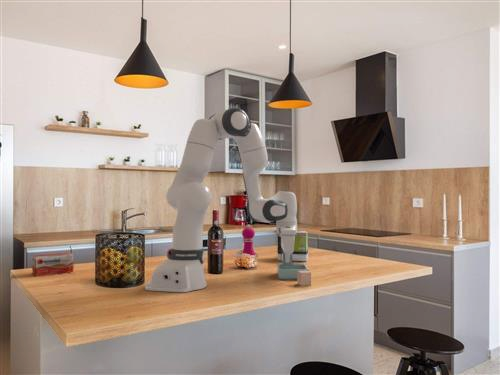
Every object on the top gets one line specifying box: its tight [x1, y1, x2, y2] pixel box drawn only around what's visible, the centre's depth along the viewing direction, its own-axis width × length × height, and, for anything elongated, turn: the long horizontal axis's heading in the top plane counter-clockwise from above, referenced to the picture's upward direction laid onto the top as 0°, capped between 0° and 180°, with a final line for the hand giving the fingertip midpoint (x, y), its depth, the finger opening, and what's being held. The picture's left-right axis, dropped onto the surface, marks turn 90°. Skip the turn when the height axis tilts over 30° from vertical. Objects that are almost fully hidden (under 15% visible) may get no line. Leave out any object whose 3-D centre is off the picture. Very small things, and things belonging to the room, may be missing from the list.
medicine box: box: [31, 252, 75, 277], centre depth 176 cm, size 15×8×8 cm, turn 125°
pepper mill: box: [241, 224, 256, 255], centre depth 192 cm, size 7×7×20 cm
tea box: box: [276, 230, 309, 262], centre depth 214 cm, size 15×10×15 cm
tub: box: [277, 263, 310, 281], centre depth 172 cm, size 12×13×4 cm
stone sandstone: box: [296, 270, 312, 287], centre depth 157 cm, size 4×4×5 cm
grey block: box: [281, 253, 293, 266], centre depth 174 cm, size 4×4×5 cm
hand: (286, 261), depth 174 cm, fingers closed on grey block, 4 cm apart
